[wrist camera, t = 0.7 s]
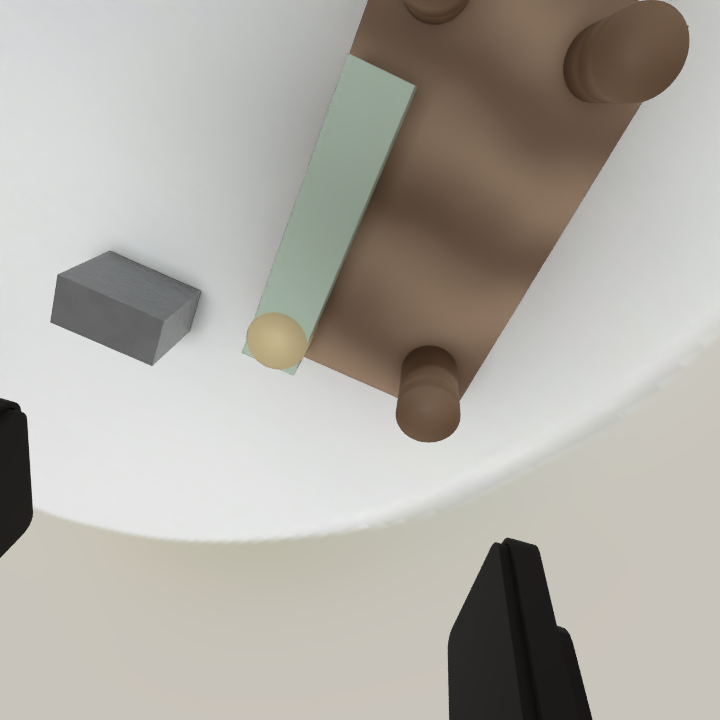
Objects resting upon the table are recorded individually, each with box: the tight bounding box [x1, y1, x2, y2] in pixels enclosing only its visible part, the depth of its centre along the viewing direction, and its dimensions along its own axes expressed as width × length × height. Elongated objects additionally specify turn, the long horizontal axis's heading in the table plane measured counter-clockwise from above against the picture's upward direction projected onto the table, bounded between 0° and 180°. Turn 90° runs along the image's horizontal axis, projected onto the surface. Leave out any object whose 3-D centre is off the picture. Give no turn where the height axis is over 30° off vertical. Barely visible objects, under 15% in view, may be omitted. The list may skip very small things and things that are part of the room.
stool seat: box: [304, 0, 689, 442], centre depth 26 cm, size 22×13×7 cm, turn 157°
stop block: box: [50, 251, 201, 366], centre depth 31 cm, size 3×6×5 cm, turn 67°
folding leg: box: [242, 53, 417, 375], centre depth 26 cm, size 15×3×3 cm, turn 157°
